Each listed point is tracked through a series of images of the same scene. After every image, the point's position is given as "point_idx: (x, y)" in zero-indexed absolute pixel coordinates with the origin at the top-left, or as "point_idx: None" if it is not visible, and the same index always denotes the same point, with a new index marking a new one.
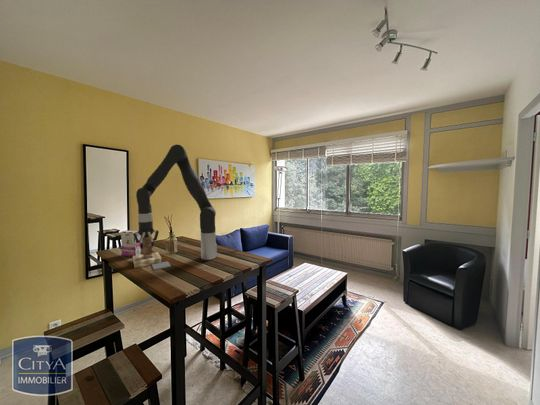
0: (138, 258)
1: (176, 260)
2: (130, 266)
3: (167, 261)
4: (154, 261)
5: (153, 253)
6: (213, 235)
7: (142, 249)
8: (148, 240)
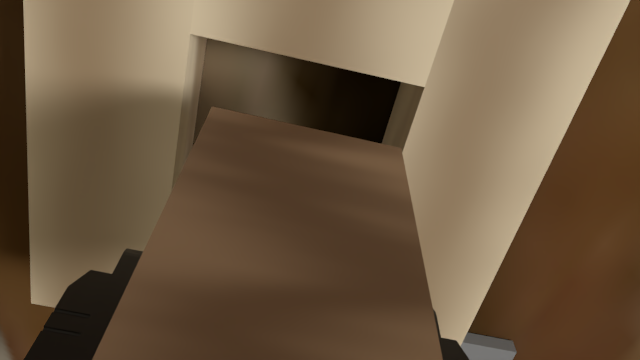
0: (122, 130)
1: (633, 353)
2: (12, 141)
3: (505, 354)
4: None
5: (507, 10)
6: None
7: (182, 176)
8: None
